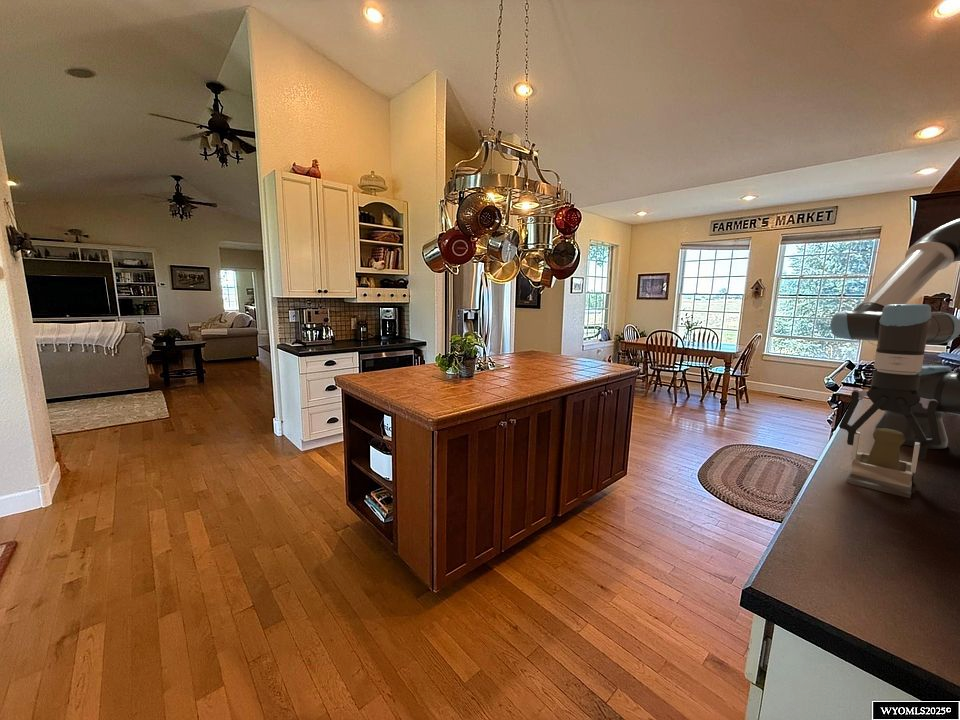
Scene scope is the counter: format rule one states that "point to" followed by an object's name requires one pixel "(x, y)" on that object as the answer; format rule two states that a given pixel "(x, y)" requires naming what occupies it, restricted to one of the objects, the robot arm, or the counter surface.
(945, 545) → the counter surface
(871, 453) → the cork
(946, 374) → the robot arm
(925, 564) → the counter surface
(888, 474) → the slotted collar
